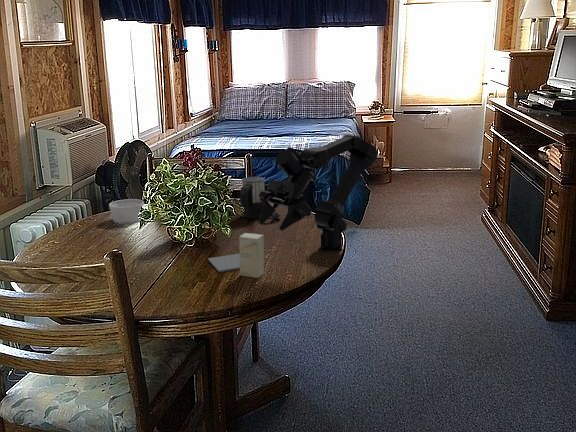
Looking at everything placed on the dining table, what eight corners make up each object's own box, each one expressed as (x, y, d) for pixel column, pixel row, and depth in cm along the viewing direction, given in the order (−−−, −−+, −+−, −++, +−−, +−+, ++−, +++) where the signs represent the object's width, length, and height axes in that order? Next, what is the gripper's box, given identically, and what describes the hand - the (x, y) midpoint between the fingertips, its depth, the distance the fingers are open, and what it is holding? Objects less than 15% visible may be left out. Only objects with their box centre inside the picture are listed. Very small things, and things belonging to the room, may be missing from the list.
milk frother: (244, 212, 251) (243, 176, 247) (283, 212, 249) (283, 176, 245) (238, 222, 237) (236, 184, 233) (279, 222, 236) (278, 184, 232)
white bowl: (111, 217, 248) (109, 200, 246) (145, 214, 251) (143, 197, 249) (110, 226, 236) (108, 208, 234) (145, 223, 239) (144, 205, 237)
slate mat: (249, 253, 202) (249, 251, 202) (262, 265, 192) (262, 263, 192) (208, 260, 197) (208, 258, 197) (218, 272, 187) (218, 270, 187)
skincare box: (239, 275, 184) (237, 236, 181) (246, 270, 188) (244, 232, 184) (258, 278, 182) (257, 238, 178) (265, 273, 186) (263, 234, 182)
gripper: (261, 164, 191) (234, 206, 187) (304, 173, 178) (276, 218, 174) (281, 185, 199) (255, 226, 194) (323, 195, 185) (297, 238, 181)
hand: (270, 226), depth 186 cm, fingers open, 9 cm apart
